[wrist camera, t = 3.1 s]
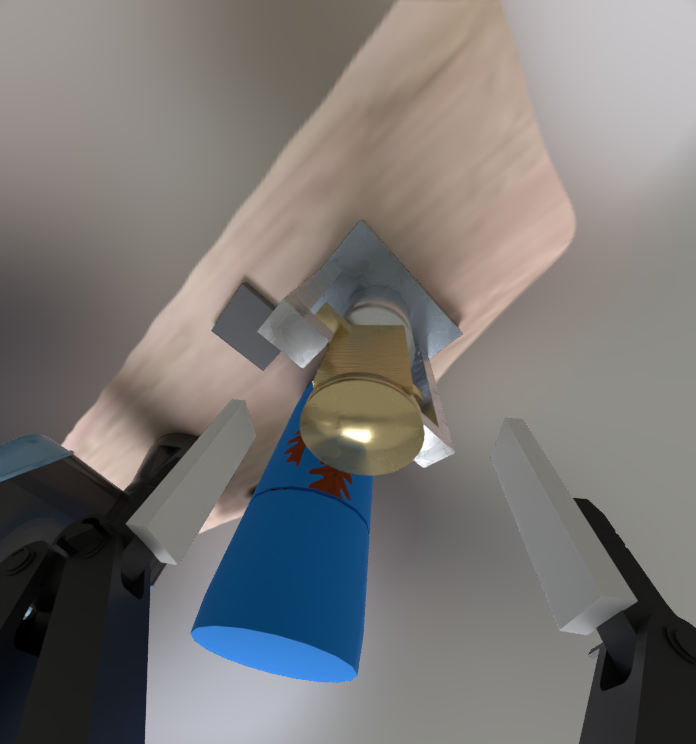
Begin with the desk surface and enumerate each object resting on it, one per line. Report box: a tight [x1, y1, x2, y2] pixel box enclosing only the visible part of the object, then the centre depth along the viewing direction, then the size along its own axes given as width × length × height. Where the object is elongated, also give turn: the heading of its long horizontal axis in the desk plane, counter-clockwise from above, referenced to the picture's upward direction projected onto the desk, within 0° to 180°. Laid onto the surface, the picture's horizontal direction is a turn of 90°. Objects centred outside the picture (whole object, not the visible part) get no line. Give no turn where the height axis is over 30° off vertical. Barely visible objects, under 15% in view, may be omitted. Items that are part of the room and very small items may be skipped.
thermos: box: [191, 381, 373, 682], centre depth 26 cm, size 11×11×25 cm
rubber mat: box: [211, 282, 281, 371], centre depth 32 cm, size 8×8×1 cm
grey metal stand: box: [257, 219, 463, 468], centre depth 22 cm, size 11×15×16 cm
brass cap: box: [299, 302, 425, 476], centre depth 17 cm, size 11×7×9 cm, turn 47°
